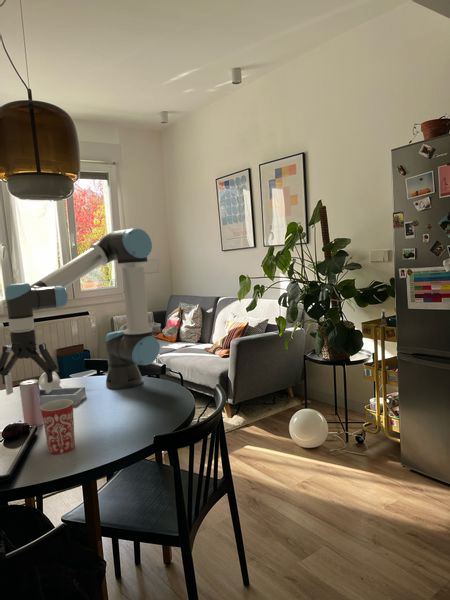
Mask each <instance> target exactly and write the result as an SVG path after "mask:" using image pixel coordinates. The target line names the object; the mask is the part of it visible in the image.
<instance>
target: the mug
mask: <svg viewBox="0 0 450 600" xmlns="http://www.w3.org/2000/svg"><path fill="white" fill-rule="evenodd" d="M73 403H74V402H73V401H72V400H69V399H61V400H55V401H51V402H47V403H45V404H43V405H42V406H41V407H40V410H41V412H42V417H43V427H44V433H45V439H46V443H47V444H46V445H47V449H48V452H49V453H50V454H52V455H61V454H65V453H68V452H69V453H70V452H71V451H72V450H73V449H75V446H76V445H75V444H76V441H75V439H76V438H75V423H74V406H73Z"/></svg>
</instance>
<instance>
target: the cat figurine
mask: <svg viewBox="0 0 450 600" xmlns="http://www.w3.org/2000/svg"><path fill="white" fill-rule="evenodd" d="M45 373H46V372H45V371H44V372H43V373H42V374H41V375H40V376H39V379H38V383H39V388H40V389H45V381H44V374H45ZM52 375H53V382H51V388H52V389H55V388H62V386H61V383H62V382H61V378H60V376H59V375H58V373H57V372H55V371H53V372H52Z"/></svg>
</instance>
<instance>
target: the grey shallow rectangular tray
mask: <svg viewBox="0 0 450 600" xmlns="http://www.w3.org/2000/svg"><path fill="white" fill-rule="evenodd" d="M86 393H87V392H86V387H85V386H79V387H77V386H76V387H61V388H55V389H52V391H51V392H49V393H46V391H45V389H41V388H40V396H41V404H42V405H43V404H45V403H47V402H51V401H55V400H61V399H69V400H72V401H73V402H74V403H73V407H74V406H78V405H79V404H80V403H81V402H82V401H83V400H85V398H87V394H86Z"/></svg>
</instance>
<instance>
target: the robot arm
mask: <svg viewBox="0 0 450 600" xmlns="http://www.w3.org/2000/svg"><path fill="white" fill-rule="evenodd" d="M152 248H153V241H152V240H151V237H150V235H149V234H148V233H147V232H146V231H145V230H143V229H141V228H136V227H134V228H133V227H130V228H125V229H119V230H114V231H111V232H109V233H107V234H106V235H104V236H103V237H102V238H100V239H98V240H97V241H95V242H94V243H92V244H91V245H90V247H89V248H88V249H87V250H86V251H84V252H83V253H81V254H79V255H78V256H76V257H75V258H73V259H72V260H70V261H68V262H67V263H65V264H64V265H61V267H58V268H57V269H56V270H54V271H52V272H51V273H49V274H47V275H46V276H44V277H43V278H41V279H40V280H38V281H37V282H35V283H33V284H31V285H30V283H29V282H24V283H21V282H19V283H12V284H7V285H6V286H5V291H4V292H5V302H6V308H7V317H8V327H9V331H10V332H9V333H10V334H9V336H10V343H11V345H10V344H7V345H3V346H2V350H1V351H2V352H1V355H0V356H1V357H0V375H1V377H2V384H3V385H5V393H6V395H7V396H10V395H11V394H13V393H14V389H13V380H12V379H13V378H12V373H10V371H12V368H13V366H14V365H15V364H16V362H17V361H18V359H20V360H21V359H30V360H33V361H34V362H35V363H36V364H37V365H38V366H39V367H40V368H41V370H42V371H44V372H46V373H45V374H44V381H45V391H46V393H49V392H51V391H52V388H51V382H53V375H52V372H53V371H54V372H55V371H57V370H58V365H57V364H56V362H55V361H54V359H53V358H52V356H51V354H50V352H49V351H48V348H47V344H46V343H44V342H43V343H39V344H37V343H36V339H37V338H36V331H35V329H34V328H35V321H34V320H35V319H34V311H40V310H41V311H42V310H47V309H48V310H49V309H58V308H62V307H65V306H66V305H67V303H68V299H69V298H68V291H67V290H66V288H68V287H69V286H71V285H72V284H74V283H75V282H77V281H78V280H79V279H81V278H83V277H85V276H86V275H87V274H89V273H90V272H92V271H94V270H95V269H97V268H98V267H100V266H105V265H107V264H109V263H111V262H113V261H114V262H115V261H116V262H117V266H119V267H121V270H122V271H121V272H122V283H123V285H122V286H123V294H124V307H125V315H126V316H125V318H126V328H125V329H122V330H121V329H120V330H116V331H112V332H108V333H107V334H106V335H105V345H106V355H107V356H106V357H107V365H108V370H107V375H106V378H105V379H106V380H105V385H106V386H105V387H106V388H107V389H110V390H112V389H113V390H123V389H129V388H133V387H136V386H139V385H141V384H142V383H143V376H142V374H141V371H140V369H139V367H138V366H149V365H151V364H152V363H154V362H155V360H156V359H157V357H159V353H160V351H161V349H160V348H161V347H160V342H159V341H158V339H157V338H156V337H155V336H154V331H153V328H152V327H151V326H149V314H148V313H149V312H148V300H147V290H146V289H147V288H146V276H145V273H146V272H145V266H146V265H147V264H148V257H149V255H150V254H151V252H152ZM37 350H38V351H39V352H40V353H38V352H37ZM11 352H13V354H12V356H11V357H10V359H9V361H8V358H9V356H10V354H11Z"/></svg>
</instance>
